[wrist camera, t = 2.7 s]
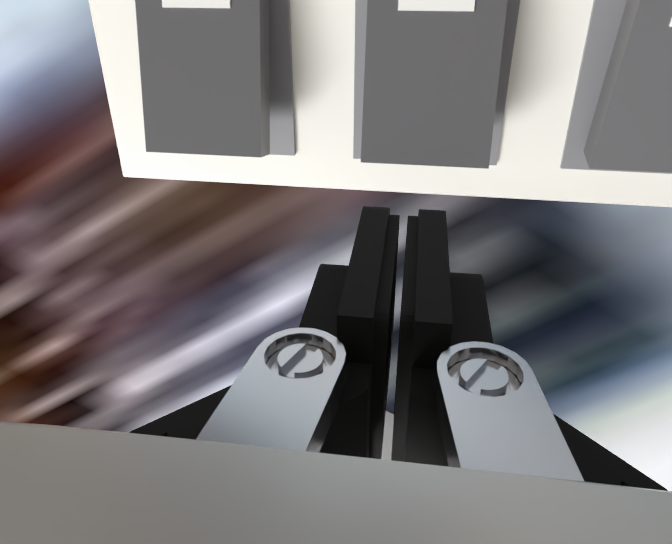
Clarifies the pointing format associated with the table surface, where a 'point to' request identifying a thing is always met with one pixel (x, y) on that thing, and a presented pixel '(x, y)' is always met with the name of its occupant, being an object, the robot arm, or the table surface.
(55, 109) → the table surface
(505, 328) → the table surface
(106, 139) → the table surface
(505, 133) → the rocker switch panel
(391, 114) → the middle rocker
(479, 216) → the table surface
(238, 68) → the left rocker
